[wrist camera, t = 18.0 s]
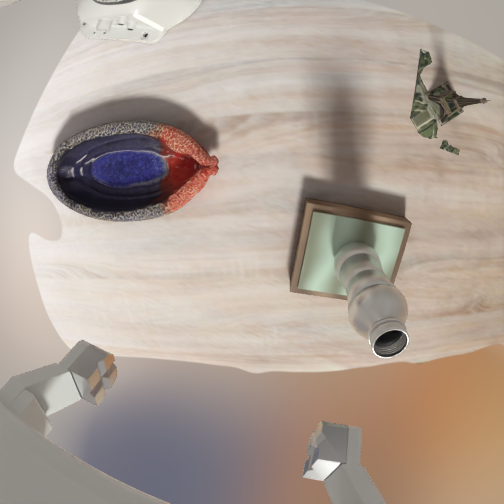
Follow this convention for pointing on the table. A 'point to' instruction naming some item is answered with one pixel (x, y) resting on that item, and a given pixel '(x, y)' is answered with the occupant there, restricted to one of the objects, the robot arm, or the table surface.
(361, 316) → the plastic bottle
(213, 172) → the dish
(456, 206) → the table surface
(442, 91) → the eiffel tower figurine
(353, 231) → the walnut stand
